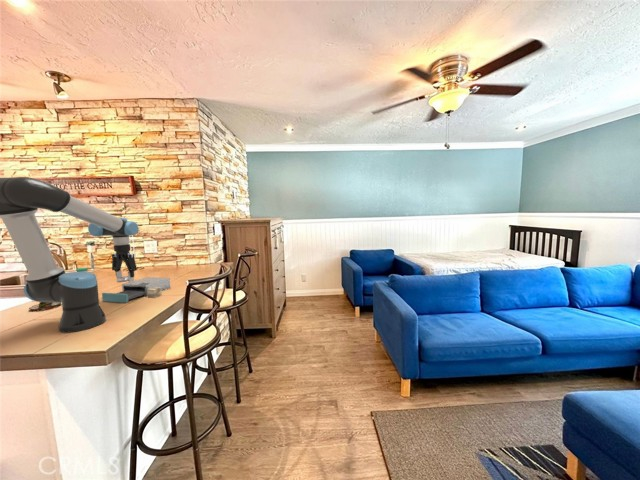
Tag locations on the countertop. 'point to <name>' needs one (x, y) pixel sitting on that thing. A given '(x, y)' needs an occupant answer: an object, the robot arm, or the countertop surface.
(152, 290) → the block
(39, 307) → the burger
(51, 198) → the robot arm
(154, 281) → the box
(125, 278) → the disc
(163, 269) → the countertop surface
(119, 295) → the tray
